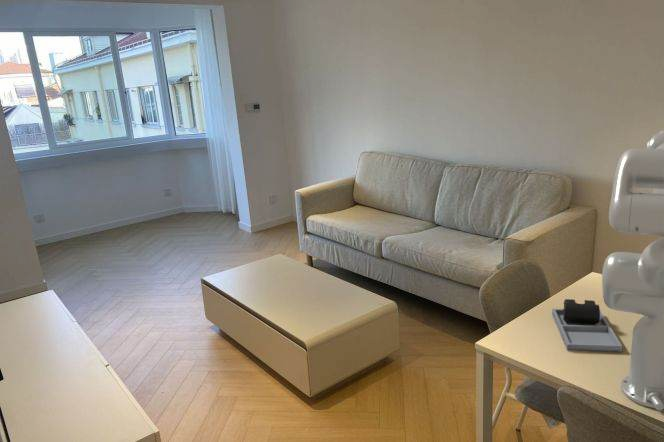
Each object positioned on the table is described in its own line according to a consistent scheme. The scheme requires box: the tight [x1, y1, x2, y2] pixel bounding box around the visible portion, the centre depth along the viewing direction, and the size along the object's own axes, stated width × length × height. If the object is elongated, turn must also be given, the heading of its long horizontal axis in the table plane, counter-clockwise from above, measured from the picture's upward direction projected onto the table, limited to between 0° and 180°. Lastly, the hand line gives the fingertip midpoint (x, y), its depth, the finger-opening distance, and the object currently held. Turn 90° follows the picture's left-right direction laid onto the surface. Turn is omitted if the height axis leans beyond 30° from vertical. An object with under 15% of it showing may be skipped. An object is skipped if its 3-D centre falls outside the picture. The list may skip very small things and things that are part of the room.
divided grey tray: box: [551, 308, 623, 353], centre depth 155 cm, size 22×15×2 cm, turn 167°
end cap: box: [562, 298, 601, 324], centre depth 159 cm, size 10×7×7 cm
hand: (663, 236), depth 137 cm, fingers open, 9 cm apart
